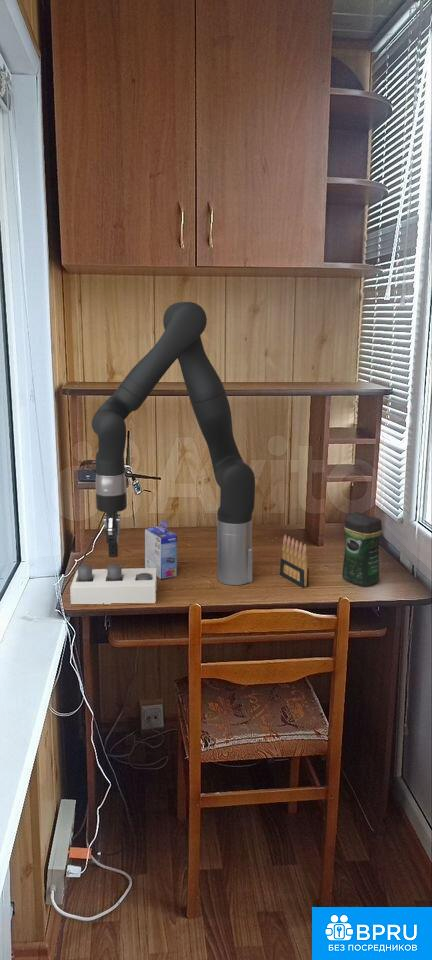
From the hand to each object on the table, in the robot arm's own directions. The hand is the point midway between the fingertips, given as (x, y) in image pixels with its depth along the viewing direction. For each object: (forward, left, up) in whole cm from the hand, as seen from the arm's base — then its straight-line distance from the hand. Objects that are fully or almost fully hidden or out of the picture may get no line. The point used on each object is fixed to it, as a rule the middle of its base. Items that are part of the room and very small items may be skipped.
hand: (113, 556), depth 179 cm
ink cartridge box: (-12, -15, -11) cm, 22 cm away
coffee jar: (-66, -6, -11) cm, 67 cm away
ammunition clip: (-48, -7, -11) cm, 49 cm away
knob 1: (+7, 0, -7) cm, 10 cm away
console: (0, 0, -11) cm, 11 cm away
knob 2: (-8, 0, -10) cm, 12 cm away
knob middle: (0, 0, -7) cm, 7 cm away
